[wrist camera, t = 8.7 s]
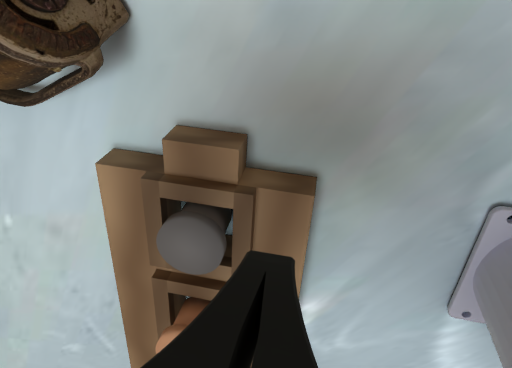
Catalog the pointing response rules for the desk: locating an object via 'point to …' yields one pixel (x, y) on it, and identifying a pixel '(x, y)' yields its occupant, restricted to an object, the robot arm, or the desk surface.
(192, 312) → the terracotta plug
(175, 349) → the robot arm
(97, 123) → the desk surface
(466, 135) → the desk surface
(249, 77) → the desk surface
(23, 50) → the brown watering can
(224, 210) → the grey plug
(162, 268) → the walnut test board
